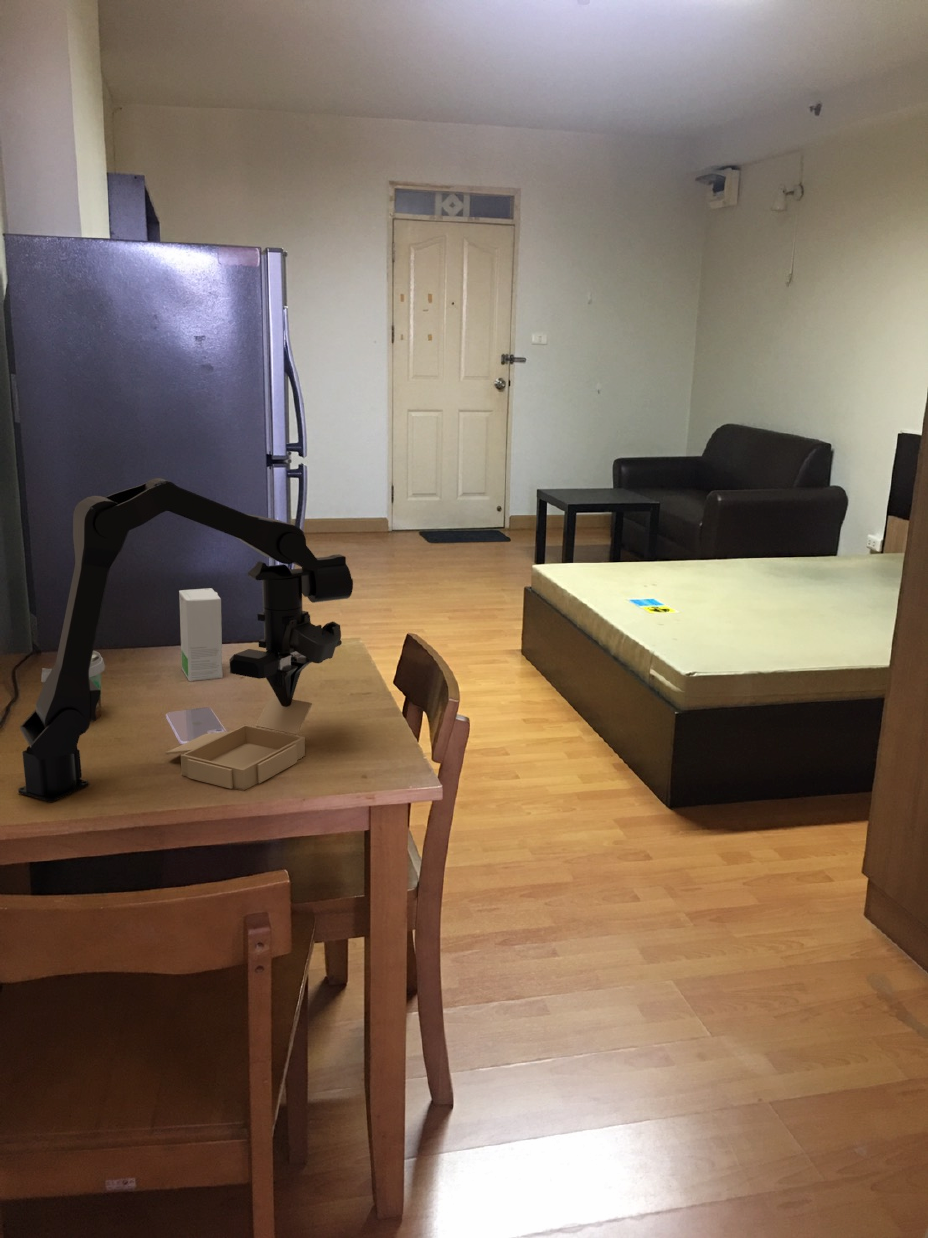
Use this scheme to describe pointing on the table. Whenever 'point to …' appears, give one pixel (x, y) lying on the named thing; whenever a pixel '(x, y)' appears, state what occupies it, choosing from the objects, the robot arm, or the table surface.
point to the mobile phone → (194, 723)
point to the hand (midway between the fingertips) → (286, 706)
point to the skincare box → (201, 634)
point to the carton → (243, 757)
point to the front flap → (283, 716)
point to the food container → (94, 675)
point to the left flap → (196, 743)
